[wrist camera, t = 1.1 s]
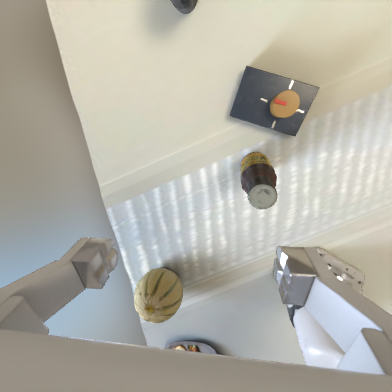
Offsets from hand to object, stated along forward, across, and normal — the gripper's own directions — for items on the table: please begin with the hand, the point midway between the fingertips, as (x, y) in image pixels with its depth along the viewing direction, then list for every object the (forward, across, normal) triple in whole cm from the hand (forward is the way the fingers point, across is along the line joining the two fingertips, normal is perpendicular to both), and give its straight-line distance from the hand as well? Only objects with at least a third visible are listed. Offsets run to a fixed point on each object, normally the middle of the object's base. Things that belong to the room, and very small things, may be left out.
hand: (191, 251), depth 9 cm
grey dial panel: (+38, +11, +5) cm, 40 cm away
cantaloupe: (+35, -16, -47) cm, 61 cm away
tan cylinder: (+35, +13, +4) cm, 38 cm away
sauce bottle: (+37, +9, -8) cm, 39 cm away
